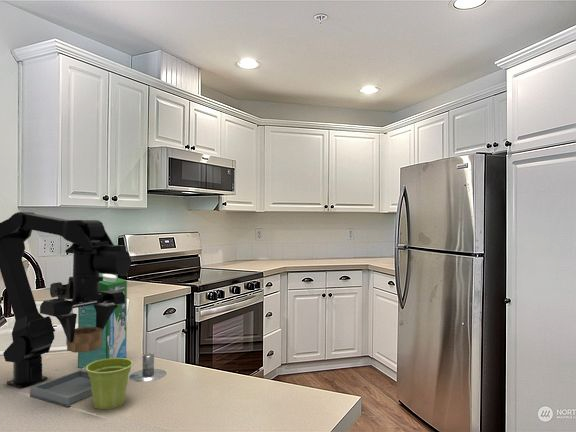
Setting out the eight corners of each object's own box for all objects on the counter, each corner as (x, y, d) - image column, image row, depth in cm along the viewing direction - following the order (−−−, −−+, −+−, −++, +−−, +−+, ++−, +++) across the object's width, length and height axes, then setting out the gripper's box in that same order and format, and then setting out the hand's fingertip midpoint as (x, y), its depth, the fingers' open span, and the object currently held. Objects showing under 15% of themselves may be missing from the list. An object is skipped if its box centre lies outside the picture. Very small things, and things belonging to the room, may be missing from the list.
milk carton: (107, 369, 112) (107, 276, 112) (77, 367, 114) (78, 275, 114) (126, 358, 121) (127, 272, 121) (98, 356, 122) (99, 271, 123)
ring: (80, 354, 94) (80, 336, 94) (55, 347, 99) (56, 330, 99) (107, 346, 100) (107, 329, 100) (83, 340, 105) (83, 324, 105)
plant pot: (118, 392, 97) (119, 354, 97) (141, 403, 91) (141, 363, 91) (77, 405, 90) (77, 365, 90) (98, 419, 84) (99, 375, 84)
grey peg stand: (121, 379, 105) (121, 357, 105) (148, 368, 113) (148, 348, 113) (148, 385, 101) (148, 363, 101) (173, 373, 109) (174, 352, 109)
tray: (30, 396, 95) (30, 387, 95) (80, 377, 106) (80, 369, 106) (68, 407, 89) (68, 398, 89) (117, 386, 101) (117, 377, 101)
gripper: (98, 266, 111) (97, 325, 111) (26, 273, 95) (24, 342, 95) (127, 269, 106) (126, 331, 106) (56, 278, 90) (54, 351, 89)
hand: (84, 338), depth 99 cm, fingers closed on ring, 7 cm apart
